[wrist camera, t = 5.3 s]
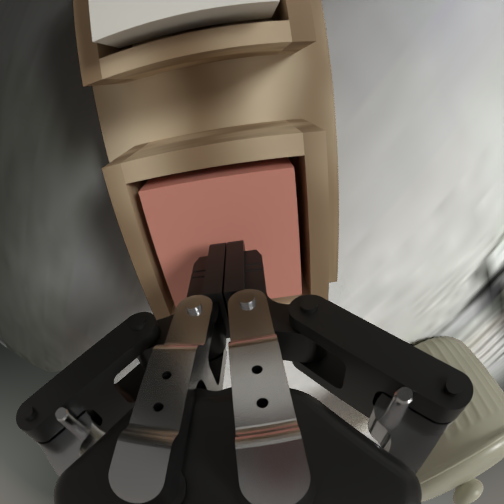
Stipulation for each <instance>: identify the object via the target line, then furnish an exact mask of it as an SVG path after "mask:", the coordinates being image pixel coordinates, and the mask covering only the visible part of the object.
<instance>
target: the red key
mask: <svg viewBox="0 0 504 504" xmlns="http://www.w3.org/2000/svg"><path fill="white" fill-rule="evenodd" d="M138 193H139V196H140V200H141V203H142V207H143V210H144V214H145V217H146V220H147V224H148V227H149V230H150V233H151V237H152V240H153V243H154V246H155V249H156V252H157V255H158V258H159V261H160V264H161V267H162V270H163V273H164V276H165V279H166V282H167V285H168V287H169V290H170V293H171V296H172V299H173V301H174V304H175V307H177V305H178V304H179V303H180V302H181V301H182V300H183V299H185V298H187V293H188V288H189V284H190V279H191V274H192V270H193V265H194V263H195V262H196V261H197V260H198V258H199V257H203V256H208V252H209V246H210V245H211V244H218V243H225V242H226V243H227V242H232V241H240V240H243V241H244V245H245V251H248V250H257V251H258V252H259V253H260V254H261V255H262V260H263V267H264V275H265V282H266V291H267V295H268V297H269V298H270V299H272V298H280V297H287V296H294V295H301V294H302V284H301V262H300V243H299V226H298V210H297V196H296V183H295V171H294V166H293V165H292V163H291V162H290V160H289V159H288V157H283V158H274V159H266V160H258V161H250V162H243V163H235V164H229V165H222V166H216V167H209V168H203V169H198V170H192V171H186V172H181V173H175V174H170V175H165V176H160V177H155V178H150V179H149V180H148V181H147V182H146V184H145V185H144V186H143V187H142V188H141V189H140V191H139V192H138Z"/></svg>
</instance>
